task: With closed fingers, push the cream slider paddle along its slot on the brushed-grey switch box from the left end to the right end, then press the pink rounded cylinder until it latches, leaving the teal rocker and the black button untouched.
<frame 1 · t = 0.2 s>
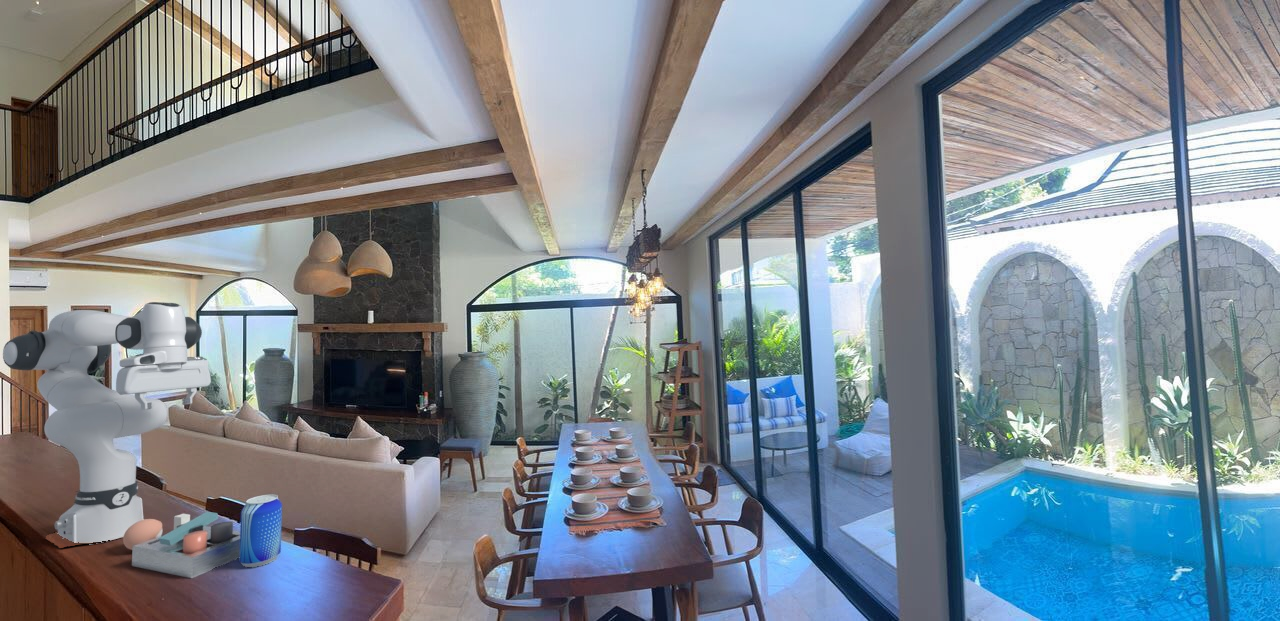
hand: (167, 406, 135), 38 cm above the kitchen island, tool pointing down, fingers open, 8 cm apart
toy ball: (143, 550, 131), on the kitchen island
switch box: (194, 558, 126), on the kitchen island
beer can: (260, 561, 124), on the kitchen island
slider knob: (181, 523, 130), point 7 cm above the kitchen island, slide at 2.0 cm
rocker: (189, 527, 126), point 8 cm above the kitchen island, hinge at 15.0°
pink rounded cylinder: (195, 546, 121), point 6 cm above the kitchen island, slide at 0.0 cm
black button: (221, 536, 127), point 5 cm above the kitchen island, slide at 0.0 cm
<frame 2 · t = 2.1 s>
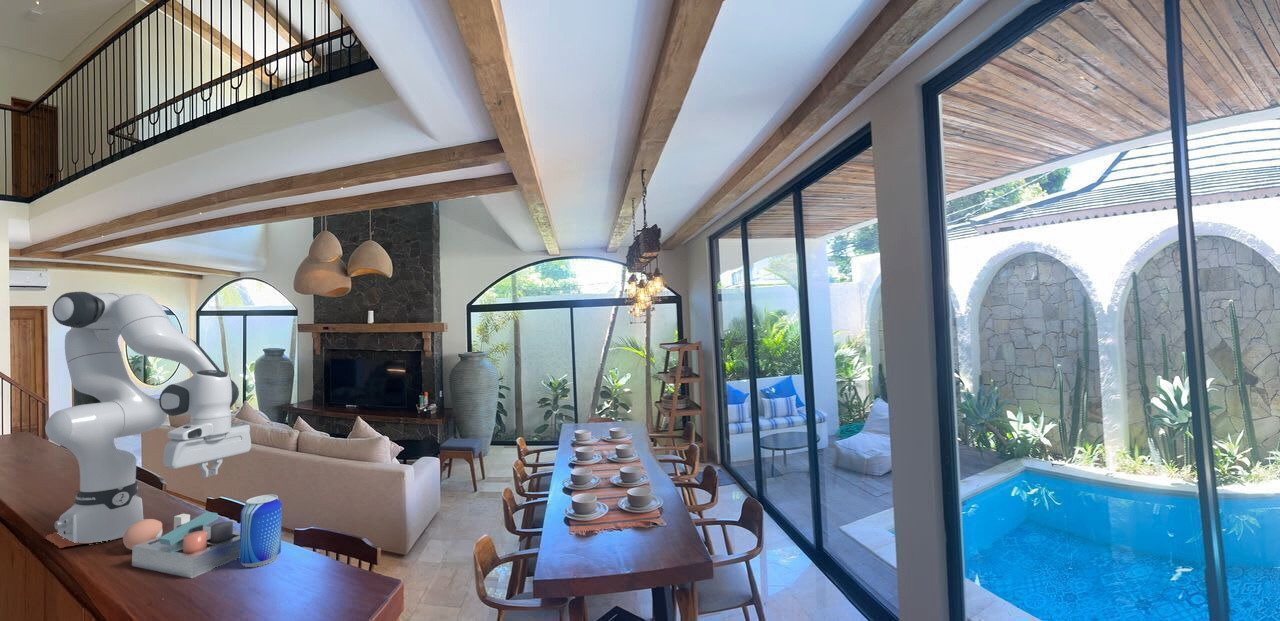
hand: (209, 476, 137), 18 cm above the kitchen island, tool pointing down, fingers closed
nothing on the kitchen island moved.
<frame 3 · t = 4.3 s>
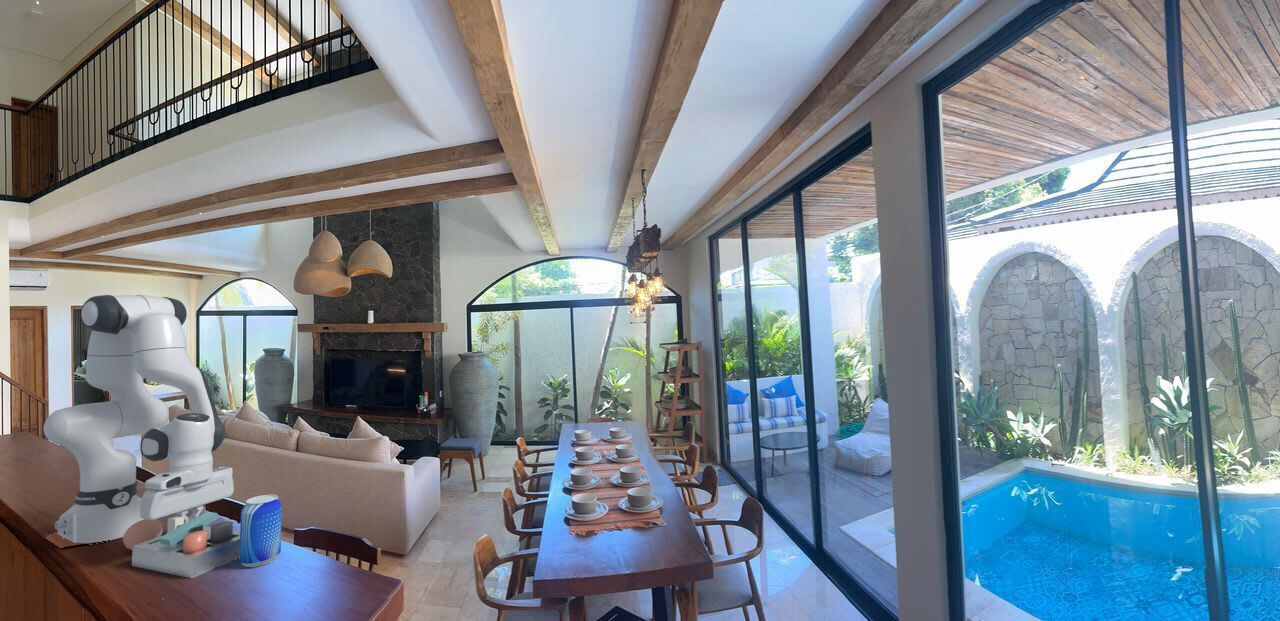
hand: (189, 524, 132), 7 cm above the kitchen island, tool pointing down, fingers closed
slider knob: (175, 525, 129), point 7 cm above the kitchen island, slide at 0.6 cm, touching gripper
everything else where it was.
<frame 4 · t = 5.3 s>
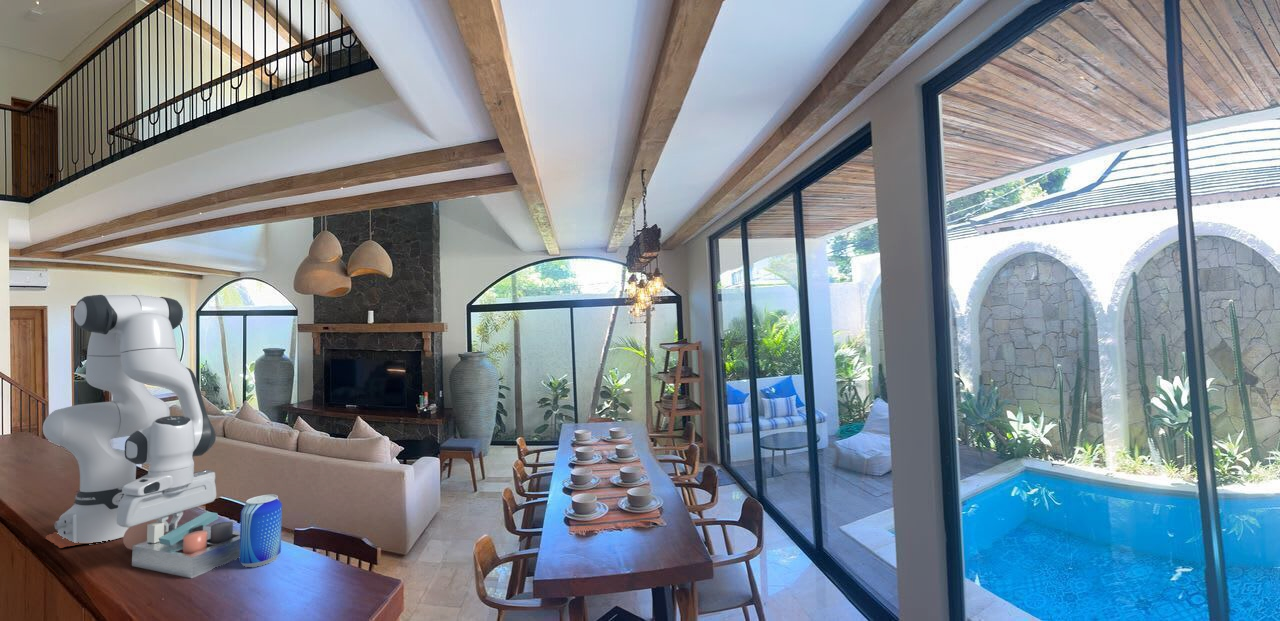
hand: (169, 530, 128), 7 cm above the kitchen island, tool pointing down, fingers closed
slider knob: (155, 532, 125), point 7 cm above the kitchen island, slide at -3.7 cm, touching gripper
everything else where it was.
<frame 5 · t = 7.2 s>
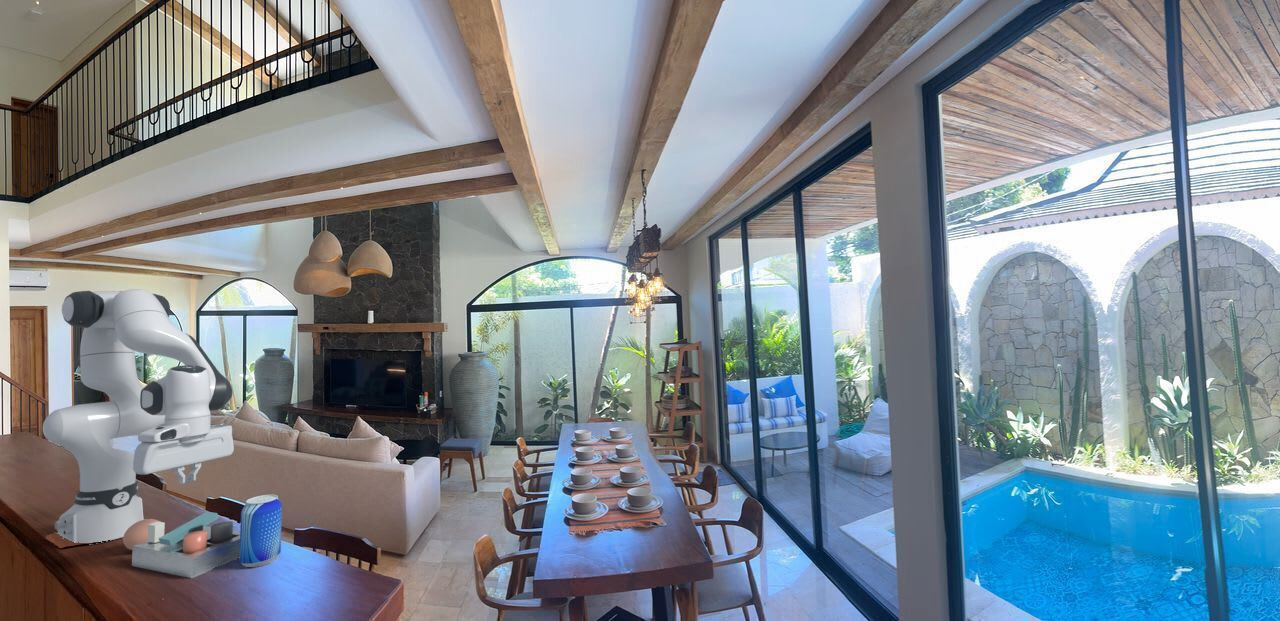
hand: (187, 482, 124), 21 cm above the kitchen island, tool pointing down, fingers closed
slider knob: (156, 532, 125), point 7 cm above the kitchen island, slide at -3.6 cm
everything else where it was.
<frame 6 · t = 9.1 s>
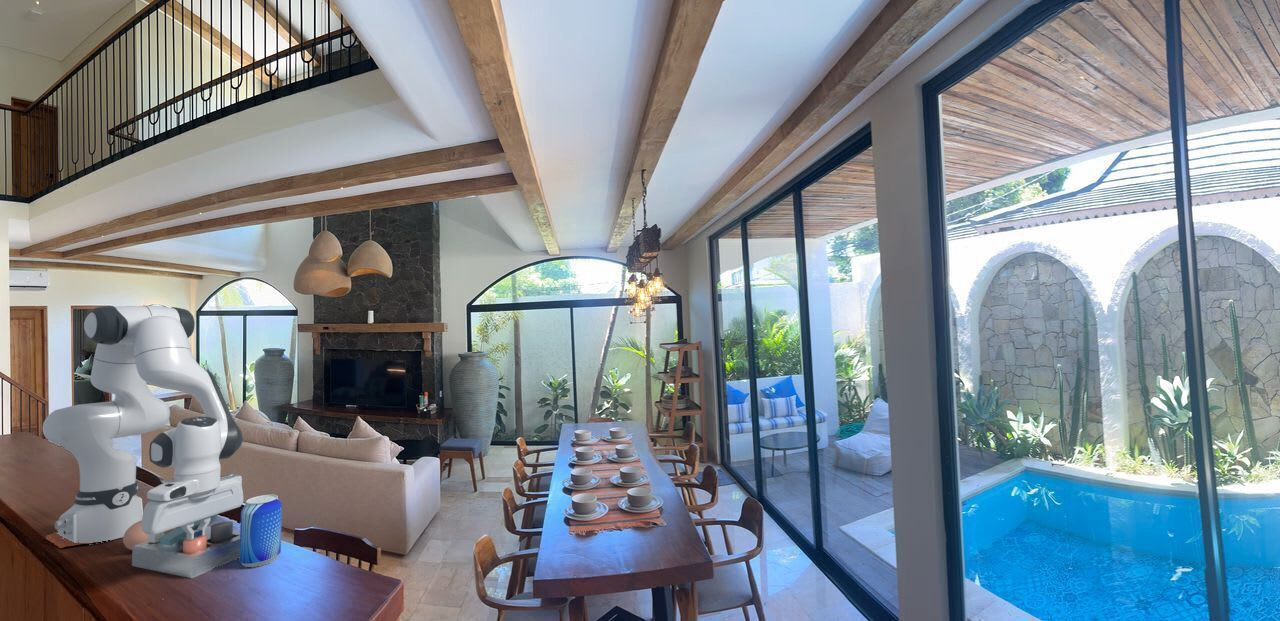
hand: (195, 538, 121), 8 cm above the kitchen island, tool pointing down, fingers closed, pressing on pink rounded cylinder
pink rounded cylinder: (194, 550, 121), point 5 cm above the kitchen island, slide at -1.0 cm, touching gripper
everything else where it was.
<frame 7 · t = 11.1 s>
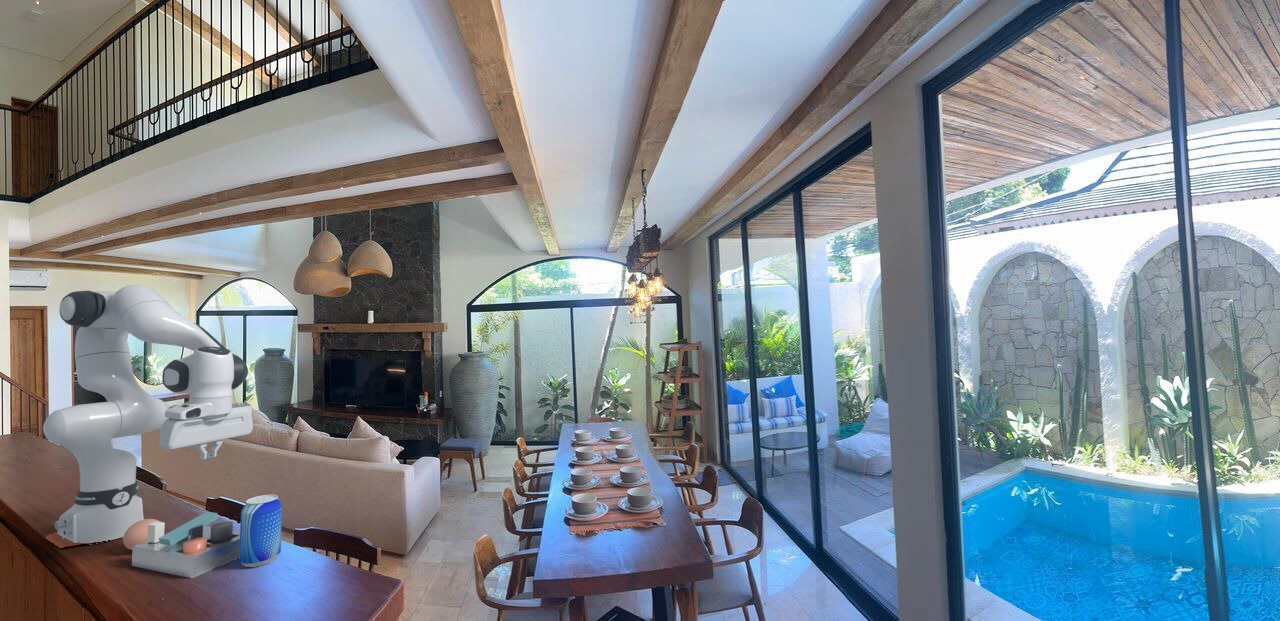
hand: (208, 458, 130), 25 cm above the kitchen island, tool pointing down, fingers closed
pink rounded cylinder: (194, 553, 121), point 4 cm above the kitchen island, slide at -1.7 cm
everything else where it was.
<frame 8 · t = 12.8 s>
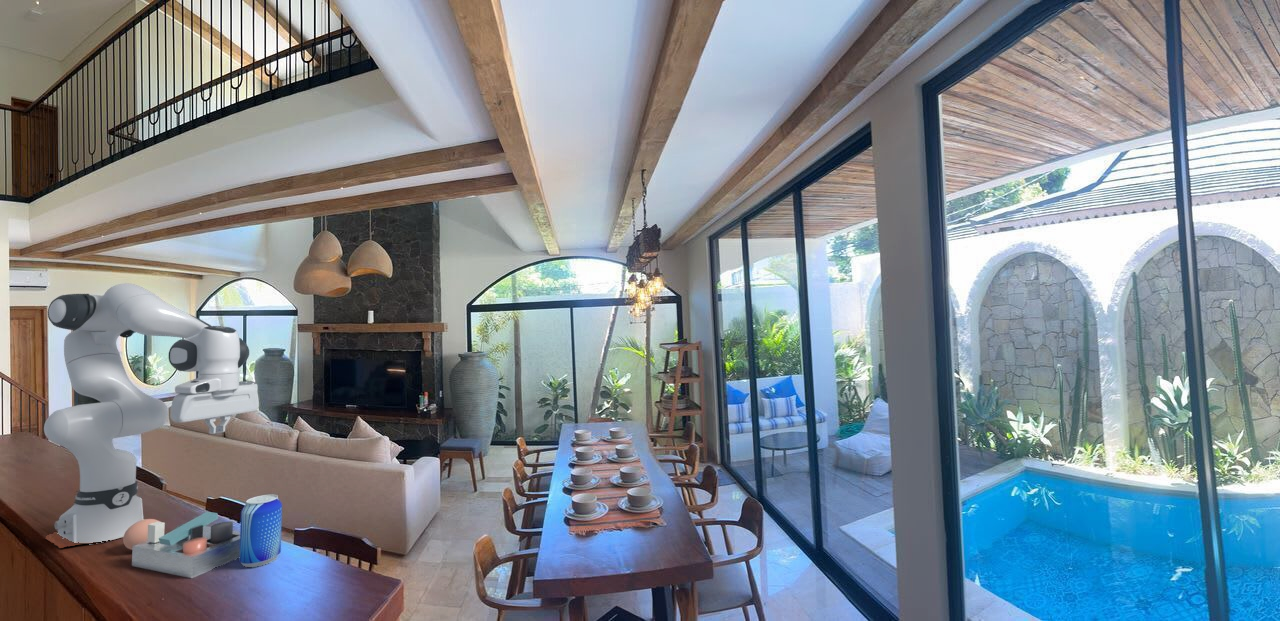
hand: (217, 433, 135), 31 cm above the kitchen island, tool pointing down, fingers closed
nothing on the kitchen island moved.
at the end: slider knob slide at -3.6 cm; pink rounded cylinder slide at -1.7 cm; black button slide at 0.0 cm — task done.
